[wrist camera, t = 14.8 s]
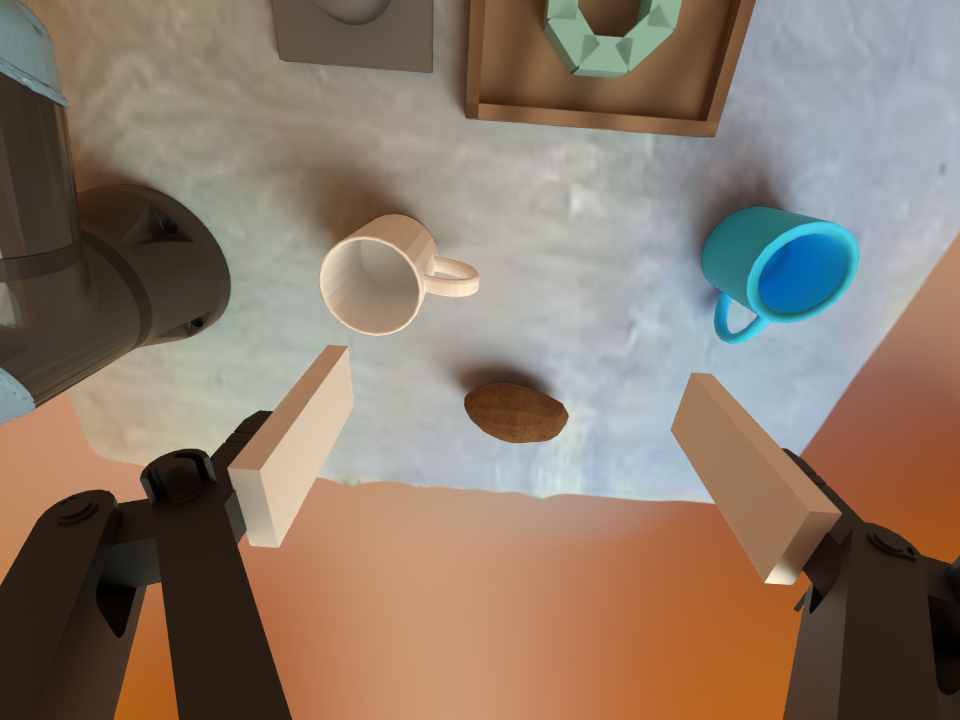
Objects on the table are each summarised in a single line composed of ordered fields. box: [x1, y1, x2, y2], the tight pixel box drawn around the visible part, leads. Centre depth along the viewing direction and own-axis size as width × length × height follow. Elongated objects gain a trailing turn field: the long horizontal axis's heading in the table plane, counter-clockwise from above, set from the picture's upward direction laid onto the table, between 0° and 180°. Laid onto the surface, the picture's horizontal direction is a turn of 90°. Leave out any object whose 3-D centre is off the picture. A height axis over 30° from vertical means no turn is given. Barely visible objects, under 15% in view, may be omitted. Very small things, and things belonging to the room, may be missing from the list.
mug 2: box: [702, 206, 860, 344], centre depth 37 cm, size 12×8×8 cm
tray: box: [465, 0, 756, 137], centre depth 30 cm, size 20×16×2 cm
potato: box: [464, 382, 569, 443], centre depth 45 cm, size 7×12×7 cm, turn 83°
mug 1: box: [319, 214, 479, 336], centre depth 36 cm, size 12×8×10 cm, turn 88°
